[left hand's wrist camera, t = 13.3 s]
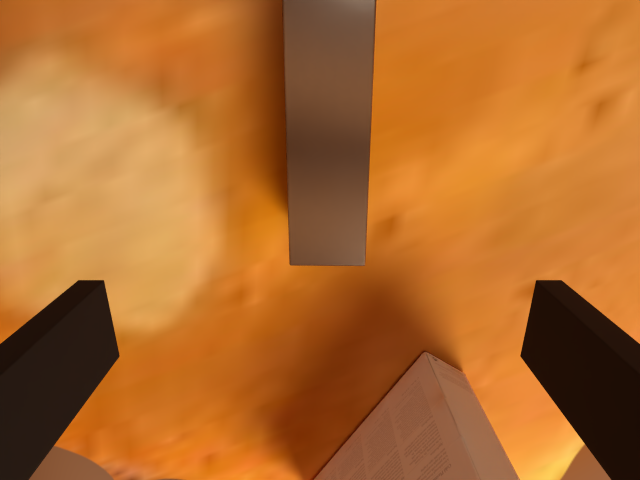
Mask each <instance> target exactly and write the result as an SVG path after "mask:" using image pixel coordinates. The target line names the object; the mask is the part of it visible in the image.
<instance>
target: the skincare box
mask: <svg viewBox="0 0 640 480" xmlns="http://www.w3.org/2000/svg"><path fill="white" fill-rule="evenodd" d="M314 480H520V479H519V477H518V476H517V474H516V472H515V470H514V468H513V466H512V464H511V462H510V460H509V458H508V457H507V455H506V453H505V451H504V449H503V447H502V445H501V443H500V441H499V439H498V437H497V435H496V434H495V432H494V430H493V428H492V426H491V424H490V422H489V420H488V418H487V416H486V414H485V412H484V411H483V409H482V407H481V405H480V403H479V401H478V399H477V397H476V395H475V393H474V392H473V390H472V388H471V386H470V384H469V382H468V380H467V378H466V376H465V374H464V373H463V372H461V371H459V370H458V369H456V368H454V367H452V366H451V365H449V364H447V363H445V362H443V361H442V360H440V359H438V358H437V357H435V356H433V355H431V354H429V353H427V352H424V353H423V354H422V355H421V356H420V357H419V358H418V359H417V361H416V362H415V363H414V364H413V365H412V366H411V367H410V369H409V370H408V371H407V372H406V373H405V374H404V376H403V377H402V378H401V379H400V380H399V381H398V382H397V384H396V385H395V386H394V387H393V388H392V389H391V390H390V392H389V393H388V394H387V395H386V396H385V398H384V399H383V400H382V401H381V402H380V403H379V404H378V406H377V407H376V408H375V409H374V410H373V411H372V412H371V414H370V415H369V416H368V417H367V418H366V419H365V421H364V422H363V423H362V424H361V425H360V426H359V428H358V429H357V430H356V431H355V432H354V433H353V434H352V436H351V437H350V438H349V439H348V440H347V441H346V443H345V444H344V445H343V446H342V447H341V448H340V450H339V451H338V452H337V453H336V454H335V455H334V457H333V458H332V459H331V460H330V461H329V462H328V464H327V465H326V466H325V467H324V468H323V469H322V471H321V472H320V473H319V474H318V475H317V476H316V478H315V479H314Z"/></svg>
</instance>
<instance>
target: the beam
mask: <svg viewBox="0 0 640 480" xmlns="http://www.w3.org/2000/svg"><path fill="white" fill-rule="evenodd" d="M282 4H283V40H284V77H285V113H286V150H287V186H288V223H289V259H290V265H314V266H365V257H366V233H367V210H368V186H369V162H370V138H371V114H372V91H373V67H374V43H375V19H376V0H282Z"/></svg>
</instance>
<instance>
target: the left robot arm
mask: <svg viewBox="0 0 640 480" xmlns="http://www.w3.org/2000/svg"><path fill="white" fill-rule="evenodd" d="M118 358H119V351H118V346H117V341H116V337H115V332H114V327H113V322H112V317H111V313H110V308H109V303H108V298H107V293H106V288H105V284H104V280H78V281H77V282H76V283H75V284H74V285H72V286H71V287H70V288H69V289H67V290H66V291H65V292H64V293H62V294H61V295H60V296H59V297H58V298H56V299H55V300H54V301H53V302H51V303H50V304H49V305H48V306H46V307H45V308H44V309H43V310H42V311H40V312H39V313H38V314H37V315H35V316H34V317H33V318H32V319H30V320H29V321H28V322H27V323H26V324H24V325H23V326H22V327H21V328H19V329H18V330H17V331H16V332H15V333H13V334H12V335H11V336H10V337H8V338H7V339H6V340H5V341H3V342H2V343H1V344H0V480H29V478H30V477H31V476H32V474H33V473H34V472H35V470H36V469H37V468H38V466H39V465H40V464H41V462H42V461H43V459H44V458H45V457H46V455H47V454H48V453H49V451H50V450H51V449H52V447H53V446H54V444H55V443H56V442H57V440H58V439H59V438H60V436H61V435H62V434H63V432H64V431H65V430H66V428H67V427H68V425H69V424H70V423H71V421H72V420H73V419H74V417H75V416H76V415H77V413H78V412H79V411H80V409H81V408H82V406H83V405H84V404H85V402H86V401H87V400H88V398H89V397H90V396H91V394H92V393H93V392H94V390H95V389H96V387H97V386H98V385H99V383H100V382H101V381H102V379H103V378H104V377H105V375H106V374H107V373H108V371H109V370H110V368H111V367H112V366H113V364H114V363H115V362H116V360H117V359H118ZM521 358H522V359H523V360H524V362H525V363H526V364H527V366H528V367H529V368H530V370H531V371H532V373H533V374H534V375H535V377H536V378H537V379H538V381H539V382H540V383H541V385H542V386H543V387H544V389H545V390H546V392H547V393H548V394H549V396H550V397H551V398H552V400H553V401H554V402H555V404H556V405H557V406H558V408H559V409H560V411H561V412H562V413H563V415H564V416H565V417H566V419H567V420H568V421H569V423H570V424H571V425H572V427H573V428H574V430H575V431H576V432H577V434H578V435H579V436H580V438H581V439H582V440H583V442H584V443H585V444H586V446H587V447H588V449H589V450H590V451H591V453H592V454H593V455H594V457H595V458H596V459H597V461H598V462H599V463H600V465H601V466H602V468H603V469H604V470H605V472H606V473H607V474H608V476H609V477H610V478H611V480H640V344H639V343H638V342H637V341H635V340H634V339H633V338H632V337H630V336H629V335H628V334H627V333H625V332H624V331H623V330H622V329H621V328H619V327H618V326H617V325H616V324H614V323H613V322H612V321H611V320H609V319H608V318H607V317H606V316H605V315H603V314H602V313H601V312H600V311H598V310H597V309H596V308H595V307H594V306H592V305H591V304H590V303H589V302H587V301H586V300H585V299H584V298H582V297H581V296H580V295H579V294H578V293H576V292H575V291H574V290H573V289H571V288H570V287H569V286H568V285H566V284H565V283H564V282H563V281H562V280H536V284H535V288H534V293H533V298H532V303H531V308H530V313H529V317H528V322H527V327H526V332H525V337H524V341H523V346H522V351H521Z"/></svg>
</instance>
